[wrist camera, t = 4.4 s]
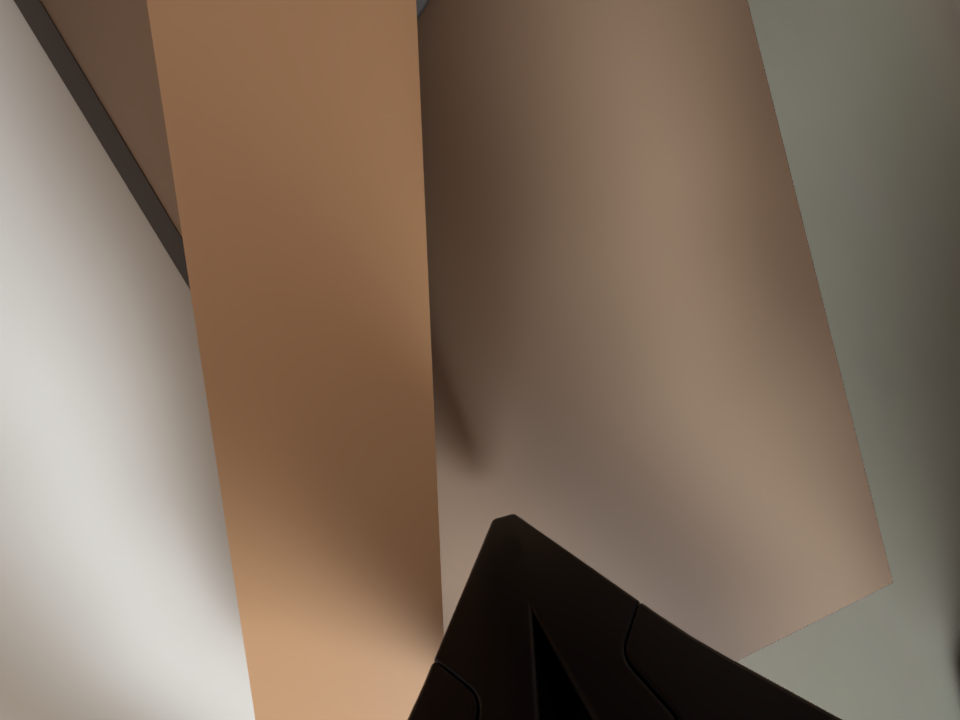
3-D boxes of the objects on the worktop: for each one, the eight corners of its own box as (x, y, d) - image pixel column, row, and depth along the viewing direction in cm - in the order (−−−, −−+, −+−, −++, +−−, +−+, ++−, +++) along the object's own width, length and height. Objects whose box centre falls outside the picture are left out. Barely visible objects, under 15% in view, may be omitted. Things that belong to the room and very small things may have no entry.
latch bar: (197, -248, 6) (-30, -778, 3) (399, -227, 6) (390, -687, 3) (315, 743, 10) (269, 989, 6) (443, 725, 10) (459, 950, 7)
